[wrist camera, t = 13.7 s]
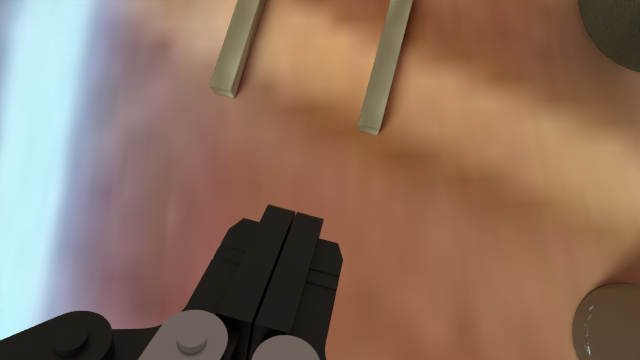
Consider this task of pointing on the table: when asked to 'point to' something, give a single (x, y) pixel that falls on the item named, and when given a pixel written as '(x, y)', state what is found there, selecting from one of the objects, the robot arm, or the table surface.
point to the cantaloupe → (614, 29)
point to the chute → (381, 76)
